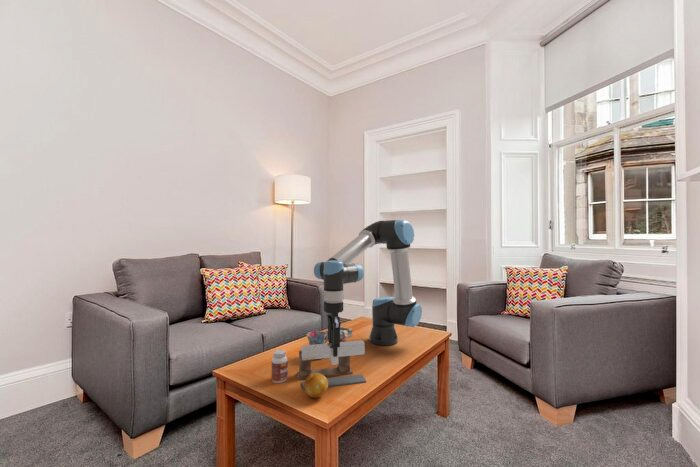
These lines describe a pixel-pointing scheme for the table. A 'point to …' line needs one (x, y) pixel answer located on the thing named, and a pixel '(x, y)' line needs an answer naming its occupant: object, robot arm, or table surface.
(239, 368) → the table surface
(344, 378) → the felt mat
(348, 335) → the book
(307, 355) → the rail
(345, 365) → the stand
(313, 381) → the fruit
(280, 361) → the pill bottle
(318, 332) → the mug
